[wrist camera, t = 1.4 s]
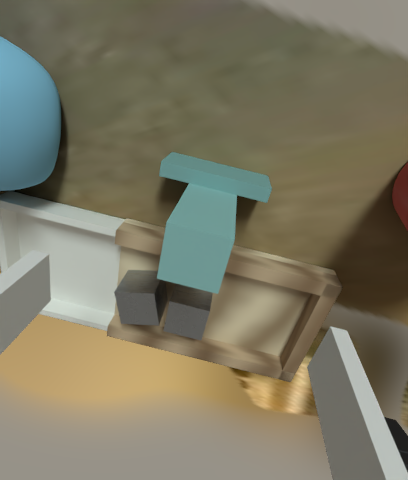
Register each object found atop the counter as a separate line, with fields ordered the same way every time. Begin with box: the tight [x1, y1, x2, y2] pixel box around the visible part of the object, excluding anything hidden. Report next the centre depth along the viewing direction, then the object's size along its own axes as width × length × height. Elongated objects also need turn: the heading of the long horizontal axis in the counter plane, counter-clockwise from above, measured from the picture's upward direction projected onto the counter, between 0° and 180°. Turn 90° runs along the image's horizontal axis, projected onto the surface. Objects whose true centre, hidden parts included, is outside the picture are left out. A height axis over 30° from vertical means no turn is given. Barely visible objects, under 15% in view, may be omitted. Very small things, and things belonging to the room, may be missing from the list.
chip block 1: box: [114, 270, 168, 326], centre depth 31 cm, size 4×4×4 cm
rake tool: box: [157, 152, 272, 294], centre depth 23 cm, size 5×9×12 cm, turn 77°
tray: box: [0, 191, 125, 331], centre depth 33 cm, size 12×14×2 cm
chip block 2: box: [163, 284, 213, 340], centre depth 31 cm, size 4×4×4 cm
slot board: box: [107, 218, 343, 382], centre depth 32 cm, size 22×14×3 cm, turn 77°
